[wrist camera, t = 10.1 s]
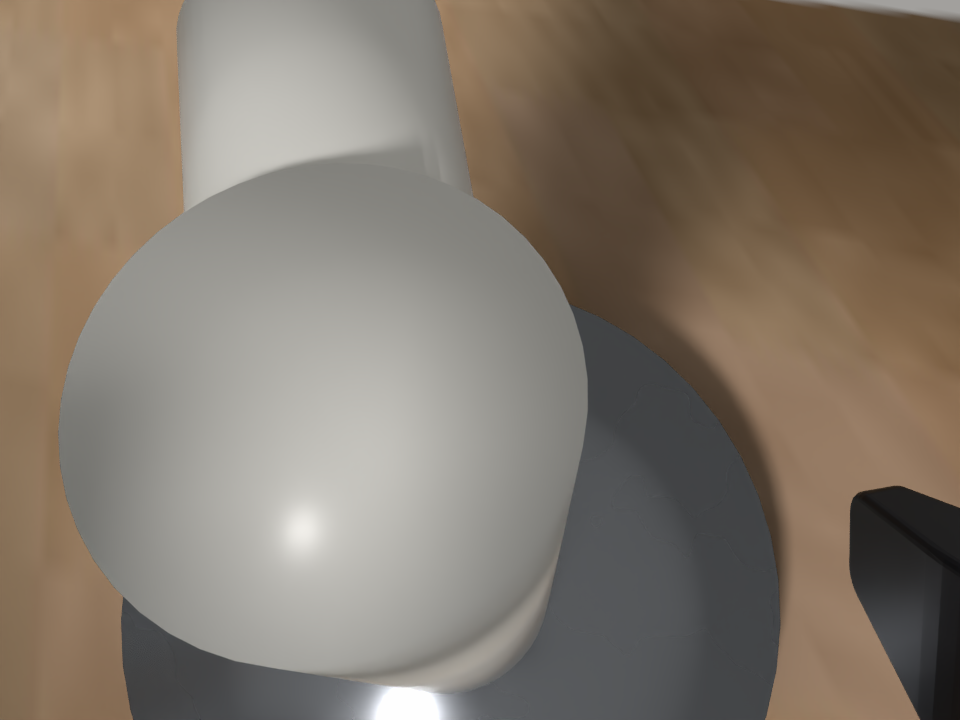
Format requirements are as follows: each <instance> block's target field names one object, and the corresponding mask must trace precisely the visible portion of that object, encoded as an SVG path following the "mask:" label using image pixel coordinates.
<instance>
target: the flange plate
mask: <svg viewBox="0 0 960 720" xmlns="http://www.w3.org/2000/svg"><path fill="white" fill-rule="evenodd" d="M569 306H570V308H571V310H572V312H573V314H574V318H575V321H576V324H577V328H578V331H579V335H580V338H581V341H582V345H583V351H584V358H585V364H586V371H587V378H588V413H587V420H586V428H585V435H584V443H583V448H582V453H581V457H580V462H579V466H578V471H577V475H576V480H575V484H574V489H573V493H572V498H571V502H570V507H569V511H568V516H567V520H566V525H565V529H564V534H563V538H562V543H561V547H560V552H559V556H558V561H557V565H556V570H555V574H554V579H553V583H552V588H551V592H550V597H549V601H548V606H547V610H546V613H545V617H544V621H543V623H542V626H541V628H540V631H539V633H538V635H537V637H536V639H535V640H534V642H533V644H532V646H531V647H530V649H529V650H528V651H527V652H526V654H525V655H524V656H523V658H522V659H521V660H520V661H519V662H518V663H517V664H516V665H515V666H514V667H513V668H512V669H510V670H509V671H508V672H506V673H505V674H504V675H502V676H501V677H500V678H498V679H496V680H494V681H493V682H491V683H489V684H487V685H484V686H482V687H479V688H477V689H474V690H470V691H466V692H461V693H452V694H435V693H427V692H421V691H415V690H408V689H402V688H396V687H390V686H383V685H377V684H371V683H364V682H358V681H352V680H345V679H339V678H333V677H326V676H320V675H314V674H308V673H301V672H295V671H289V670H282V669H276V668H270V667H265V666H259V665H254V664H248V663H243V662H237V661H233V660H230V659H227V658H225V657H222V656H219V655H216V654H213V653H210V652H207V651H204V650H201V649H199V648H197V647H195V646H193V645H191V644H189V643H187V642H185V641H183V640H181V639H179V638H177V637H175V636H173V635H171V634H170V633H168V632H166V631H165V630H163V629H162V628H161V627H159V626H158V625H157V624H155V623H154V622H152V621H151V620H150V619H148V618H147V617H145V616H144V615H143V614H141V613H140V612H139V611H138V610H137V609H136V608H135V607H134V606H133V605H132V604H131V603H130V602H129V601H127V600H126V599H125V598H124V597H123V606H122V617H121V628H122V654H123V668H124V674H125V680H126V686H127V692H128V698H129V704H130V710H131V713H132V716H133V720H765V718H766V715H767V710H768V706H769V701H770V697H771V692H772V688H773V683H774V678H775V674H776V668H777V656H778V645H779V633H780V607H779V585H778V575H777V569H776V563H775V558H774V552H773V546H772V541H771V535H770V532H769V529H768V525H767V522H766V519H765V516H764V512H763V509H762V506H761V503H760V500H759V496H758V493H757V491H756V489H755V487H754V485H753V482H752V480H751V478H750V476H749V474H748V471H747V469H746V467H745V465H744V463H743V460H742V458H741V456H740V454H739V453H738V451H737V449H736V448H735V446H734V444H733V443H732V441H731V440H730V438H729V436H728V435H727V433H726V431H725V430H724V428H723V427H722V425H721V423H720V422H719V420H718V419H717V418H716V416H715V415H714V414H713V413H712V411H711V410H710V409H709V408H708V406H707V405H706V404H705V403H704V401H703V400H702V399H701V398H700V396H699V395H698V394H697V393H696V391H695V390H694V389H693V388H692V387H691V386H690V385H689V384H688V383H687V382H686V381H685V380H684V379H683V378H682V377H681V376H680V375H679V374H678V373H677V372H676V371H675V370H674V369H673V368H672V367H671V366H670V365H669V364H668V363H667V362H666V361H665V360H663V359H662V358H661V357H659V356H658V355H657V354H655V353H654V352H653V351H651V350H650V349H649V348H647V347H646V346H645V345H643V344H642V343H641V342H639V341H638V340H637V339H636V338H634V337H633V336H631V335H629V334H628V333H626V332H624V331H623V330H621V329H619V328H617V327H616V326H614V325H612V324H611V323H609V322H607V321H605V320H604V319H602V318H600V317H598V316H596V315H594V314H591V313H589V312H587V311H584V310H582V309H580V308H577V307H575V306H573V305H570V304H569Z"/></svg>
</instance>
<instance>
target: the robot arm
mask: <svg viewBox="0 0 960 720" xmlns="http://www.w3.org/2000/svg"><path fill="white" fill-rule="evenodd" d="M849 566H850V575H851V579H852V583H853V586H854V589H855V592H856V594H857V596H858V598H859V600H860V602H861V604H862V606H863V608H864V610H865V612H866V614H867V616H868V618H869V620H870V622H871V624H872V625H873V627H874V629H875V631H876V633H877V635H878V637H879V639H880V641H881V643H882V645H883V647H884V649H885V651H886V653H887V655H888V657H889V659H890V661H891V663H892V665H893V667H894V669H895V671H896V673H897V675H898V677H899V679H900V681H901V683H902V685H903V687H904V689H905V691H906V693H907V695H908V697H909V698H910V700H911V702H912V704H913V706H914V708H915V710H916V712H917V714H918V716H919V718H920V720H960V508H958V507H956V506H953V505H950V504H948V503H945V502H942V501H940V500H937V499H934V498H932V497H929V496H926V495H924V494H921V493H919V492H916V491H913V490H911V489H908V488H905V487H902V486H890V487H885V488H879V489H874V490H868V491H862V492H859V493H858V494H857V495H856V496H855V497H854V498H853V500H852V503H851V508H850V558H849Z"/></svg>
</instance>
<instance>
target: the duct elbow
mask: <svg viewBox="0 0 960 720" xmlns="http://www.w3.org/2000/svg"><path fill="white" fill-rule="evenodd" d="M176 29H177V55H178V79H179V103H180V127H181V151H182V175H183V199H184V213H182V214H181V215H180V216H178V217H177V218H176V219H174V220H173V221H172V222H170V223H169V224H168V225H166V226H165V227H164V228H162V229H161V230H160V231H158V232H157V233H156V234H155V235H154V236H153V237H152V238H151V239H150V240H149V241H147V242H146V243H145V244H144V245H143V246H142V247H141V248H140V249H139V250H138V251H137V252H136V253H135V254H134V255H133V256H132V257H131V258H130V259H129V261H128V262H127V263H126V264H125V265H124V266H123V268H122V269H121V270H120V271H119V272H118V274H117V275H116V276H115V277H114V278H113V280H112V281H111V282H110V284H109V285H108V287H107V288H106V290H105V291H104V293H103V294H102V296H101V298H100V299H99V301H98V302H97V304H96V305H95V307H94V308H93V310H92V312H91V314H90V316H89V318H88V320H87V322H86V324H85V326H84V328H83V330H82V332H81V334H80V336H79V339H78V341H77V344H76V347H75V350H74V353H73V355H72V358H71V361H70V364H69V367H68V370H67V375H66V380H65V384H64V389H63V393H62V398H61V407H60V418H59V430H58V436H59V455H60V468H61V473H62V478H63V483H64V488H65V493H66V498H67V501H68V504H69V507H70V510H71V513H72V515H73V518H74V521H75V524H76V527H77V529H78V531H79V533H80V535H81V537H82V539H83V541H84V543H85V545H86V547H87V548H88V550H89V552H90V554H91V556H92V558H93V560H94V561H95V562H96V564H97V565H98V566H99V568H100V569H101V570H102V572H103V573H104V574H105V576H106V577H107V578H108V580H109V581H110V582H111V584H112V585H113V587H114V588H115V589H116V590H117V591H118V592H119V593H120V594H121V595H122V596H123V597H124V598H125V599H126V600H127V601H129V602H130V603H131V604H132V605H133V606H134V607H135V608H136V609H137V610H138V611H139V612H140V613H141V614H143V615H144V616H145V617H147V618H148V619H150V620H151V621H152V622H154V623H155V624H157V625H158V626H159V627H161V628H162V629H163V630H165V631H166V632H168V633H170V634H171V635H173V636H175V637H177V638H179V639H181V640H183V641H185V642H187V643H189V644H191V645H193V646H195V647H197V648H199V649H201V650H204V651H207V652H210V653H213V654H216V655H219V656H222V657H225V658H227V659H230V660H233V661H237V662H243V663H248V664H254V665H259V666H265V667H270V668H276V669H282V670H289V671H295V672H301V673H308V674H314V675H320V676H326V677H333V678H339V679H345V680H352V681H358V682H364V683H371V684H377V685H383V686H390V687H396V688H402V689H408V690H415V691H421V692H427V693H435V694H452V693H461V692H466V691H470V690H474V689H477V688H479V687H482V686H484V685H487V684H489V683H491V682H493V681H494V680H496V679H498V678H500V677H501V676H502V675H504V674H505V673H506V672H508V671H509V670H510V669H512V668H513V667H514V666H515V665H516V664H517V663H518V662H519V661H520V660H521V659H522V658H523V656H524V655H525V654H526V652H527V651H528V650H529V649H530V647H531V646H532V644H533V642H534V640H535V639H536V637H537V635H538V633H539V631H540V628H541V626H542V623H543V621H544V617H545V613H546V610H547V606H548V601H549V597H550V592H551V588H552V583H553V579H554V574H555V570H556V565H557V561H558V556H559V552H560V547H561V543H562V538H563V534H564V529H565V525H566V520H567V516H568V511H569V507H570V502H571V498H572V493H573V489H574V484H575V480H576V475H577V471H578V466H579V462H580V457H581V453H582V448H583V443H584V435H585V428H586V420H587V413H588V378H587V371H586V364H585V358H584V351H583V345H582V341H581V338H580V335H579V331H578V328H577V324H576V321H575V318H574V314H573V312H572V310H571V308H570V306H569V303H568V301H567V299H566V297H565V295H564V292H563V290H562V288H561V286H560V284H559V283H558V281H557V280H556V278H555V276H554V275H553V273H552V272H551V270H550V269H549V267H548V265H547V264H546V262H545V261H544V259H543V258H542V257H541V256H540V255H539V253H538V252H537V251H536V250H535V249H534V247H533V246H532V245H531V244H530V243H529V242H528V240H527V239H526V238H525V237H524V236H523V235H522V234H521V233H520V232H519V231H518V230H516V229H515V228H514V227H513V226H512V225H511V224H510V223H509V222H508V221H507V220H505V219H504V218H503V217H502V216H501V215H499V214H498V213H496V212H495V211H494V210H492V209H491V208H489V207H488V206H486V205H485V204H483V203H482V202H481V201H479V200H478V199H476V198H474V197H473V192H472V187H471V181H470V176H469V170H468V165H467V159H466V154H465V148H464V143H463V137H462V132H461V126H460V121H459V115H458V110H457V104H456V99H455V93H454V88H453V82H452V76H451V71H450V65H449V60H448V54H447V49H446V43H445V38H444V32H443V27H442V22H441V17H440V13H439V10H438V8H437V5H436V3H435V0H185V1H184V2H183V5H182V8H181V10H180V13H179V16H178V22H177V28H176Z"/></svg>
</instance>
